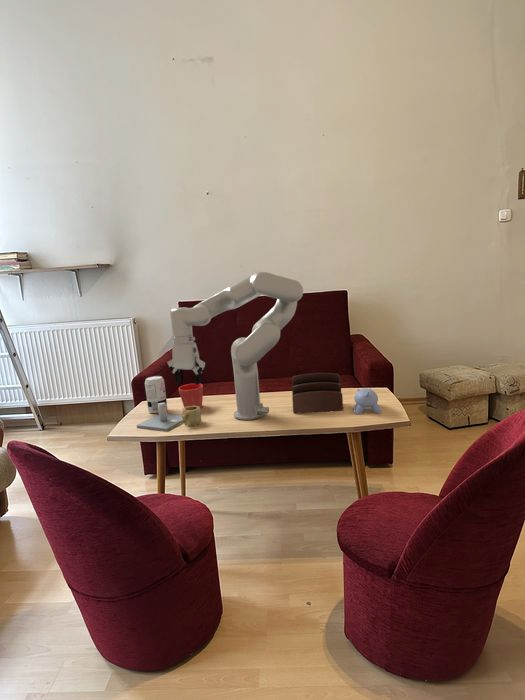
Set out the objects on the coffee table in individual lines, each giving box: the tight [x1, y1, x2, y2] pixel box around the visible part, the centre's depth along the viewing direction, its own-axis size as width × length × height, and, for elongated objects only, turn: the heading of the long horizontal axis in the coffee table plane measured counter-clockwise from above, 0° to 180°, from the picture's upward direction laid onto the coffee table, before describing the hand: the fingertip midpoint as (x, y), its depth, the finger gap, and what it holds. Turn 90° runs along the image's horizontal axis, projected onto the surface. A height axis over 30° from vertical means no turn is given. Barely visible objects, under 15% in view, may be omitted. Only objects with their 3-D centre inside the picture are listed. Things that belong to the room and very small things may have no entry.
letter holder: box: [291, 372, 344, 414], centre depth 183 cm, size 10×20×14 cm, turn 86°
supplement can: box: [144, 375, 168, 414], centre depth 196 cm, size 8×8×15 cm
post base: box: [136, 403, 184, 432], centre depth 181 cm, size 15×15×8 cm
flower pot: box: [178, 382, 204, 409], centre depth 198 cm, size 11×11×10 cm
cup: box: [181, 406, 203, 427], centre depth 177 cm, size 9×7×6 cm
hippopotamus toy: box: [352, 387, 383, 415], centre depth 177 cm, size 11×15×10 cm
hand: (188, 383), depth 176 cm, fingers open, 9 cm apart
